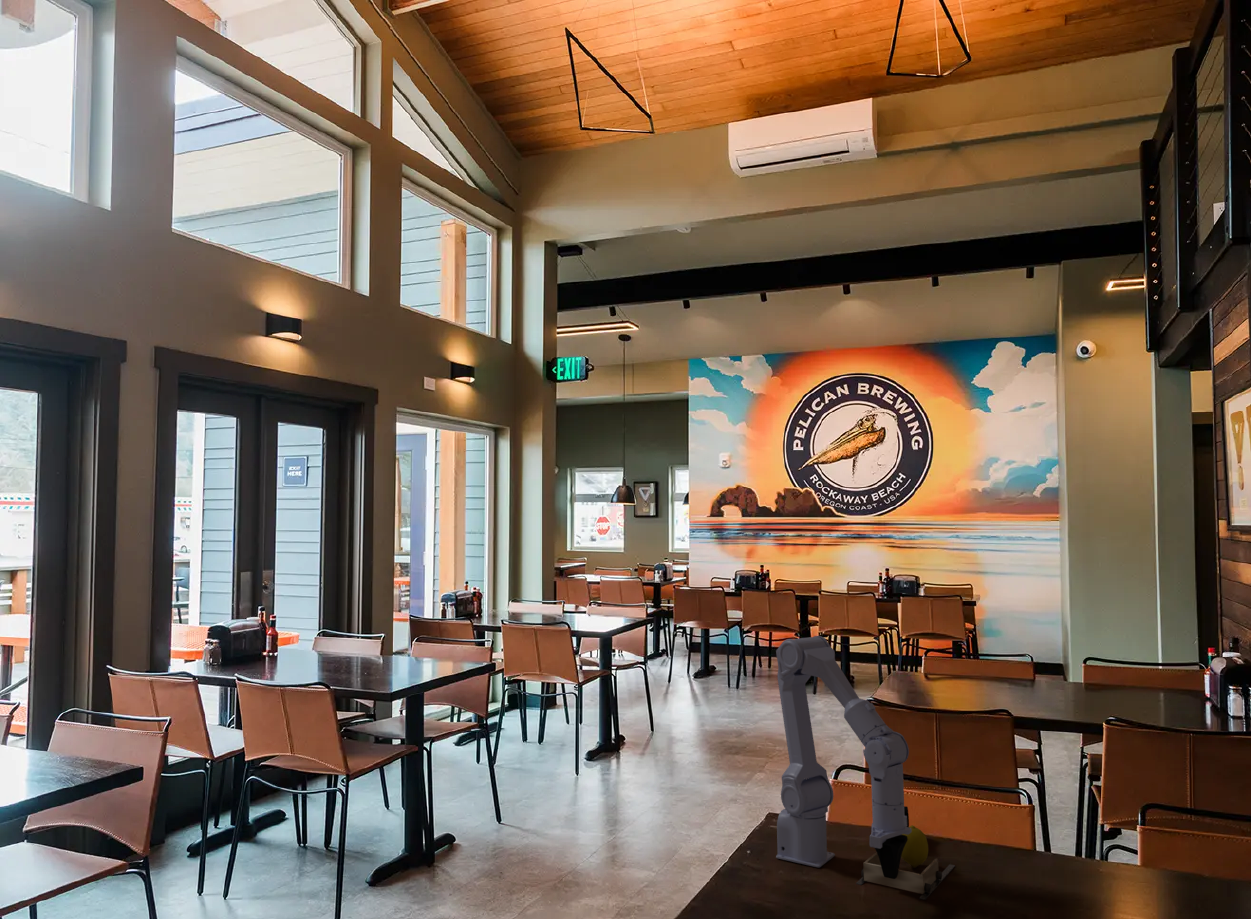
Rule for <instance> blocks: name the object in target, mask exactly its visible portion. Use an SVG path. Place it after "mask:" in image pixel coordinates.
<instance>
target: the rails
mask: <svg viewBox="0 0 1251 919" xmlns="http://www.w3.org/2000/svg"><path fill="white" fill-rule="evenodd" d="M955 867H956V866H955V864H951V863H950V864H948V865H947V867H945V869H944V870H943V871H941V872H942V879H941V880H940V879H936V880H935V881H934V882H933V883H932V884H931V891H930V892H926V891H925V892H924V893H923V894H921V895H920V897H919V900H924V901H925V900H927V899H928V898H929V897H930V896H931V894H932V893H933V892H934V891H935V890H936V889H937V887H938V886H939V885H940V884H941V883H942V882H943V881H944V880H945V878H947V876H948V875H949V874H950V872H951V871H953V869H954V868H955ZM865 882H866V881H864V877H862V876H861V878H860V879H859V880H858V881H857V882H856V883H855V884H856V885H859V886H862V885H863V884H865Z"/></svg>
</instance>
